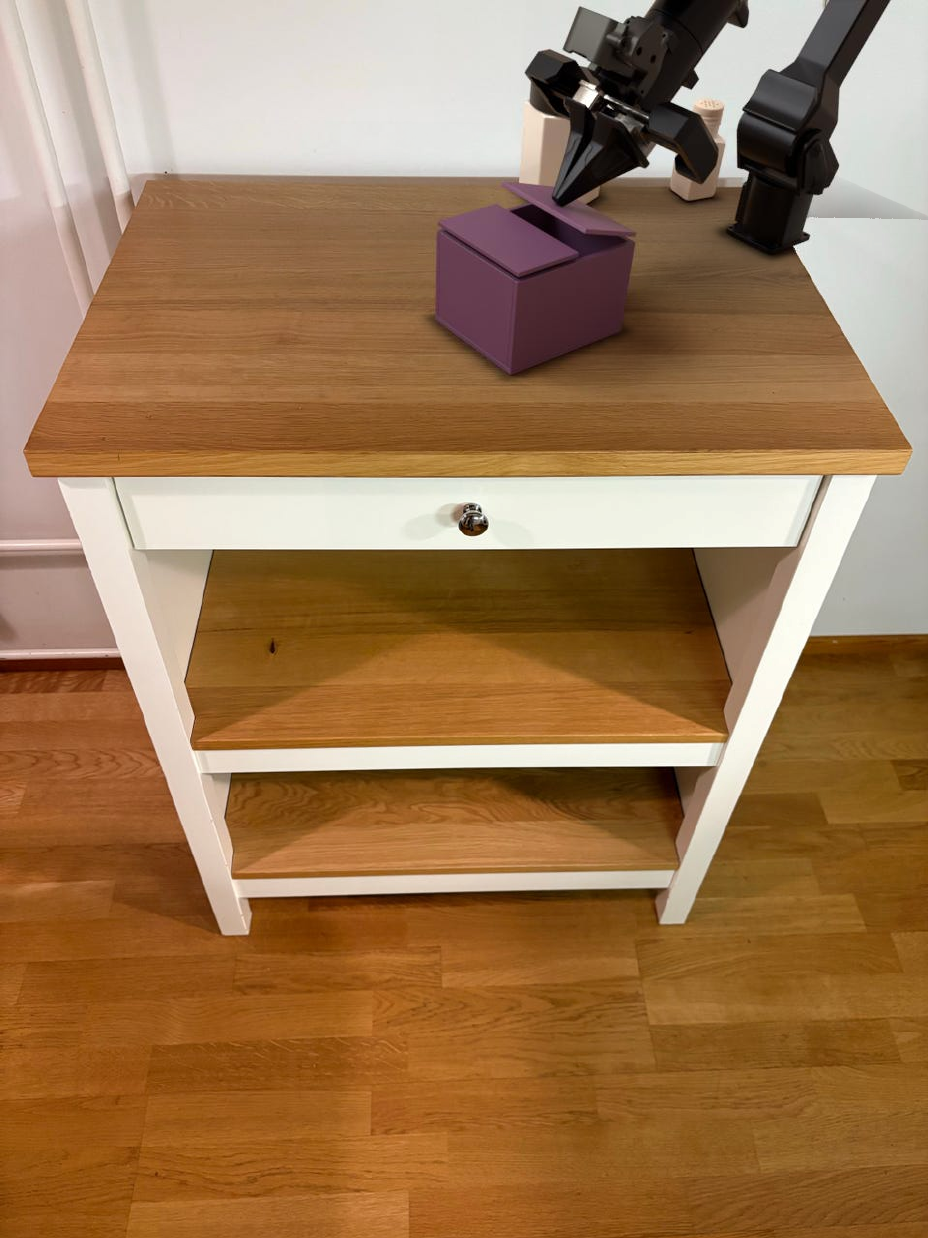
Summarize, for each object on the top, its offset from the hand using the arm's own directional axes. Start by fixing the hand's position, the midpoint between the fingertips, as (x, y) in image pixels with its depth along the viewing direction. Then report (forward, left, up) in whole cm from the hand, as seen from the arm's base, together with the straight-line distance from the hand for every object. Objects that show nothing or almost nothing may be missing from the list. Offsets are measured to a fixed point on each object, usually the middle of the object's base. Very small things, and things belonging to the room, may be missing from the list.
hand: (556, 202), depth 83 cm
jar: (+20, -19, -11) cm, 30 cm away
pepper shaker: (+12, -32, -11) cm, 36 cm away
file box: (0, +2, -11) cm, 11 cm away
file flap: (0, -1, -1) cm, 2 cm away
